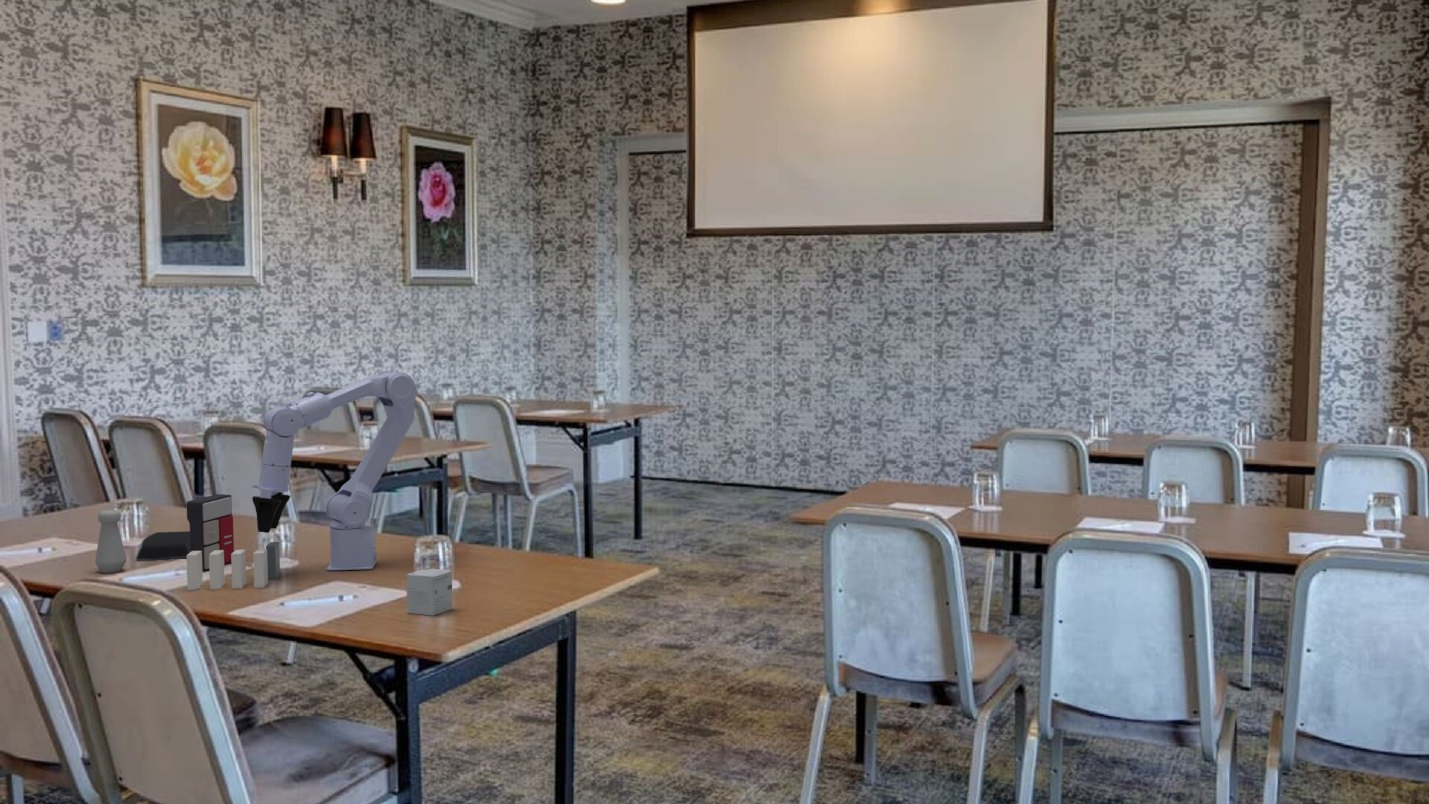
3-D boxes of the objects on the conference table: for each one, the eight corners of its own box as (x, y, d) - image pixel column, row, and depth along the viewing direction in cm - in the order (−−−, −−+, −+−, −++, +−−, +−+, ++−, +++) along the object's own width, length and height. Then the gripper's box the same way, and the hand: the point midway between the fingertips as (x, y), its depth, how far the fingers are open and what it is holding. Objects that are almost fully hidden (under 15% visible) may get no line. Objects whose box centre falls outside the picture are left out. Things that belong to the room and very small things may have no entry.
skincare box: (433, 616, 220) (433, 576, 220) (406, 613, 222) (405, 573, 222) (453, 609, 226) (452, 570, 225) (426, 605, 228) (425, 567, 228)
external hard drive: (131, 564, 267) (130, 545, 267) (151, 547, 286) (150, 530, 286) (194, 561, 270) (193, 543, 270) (210, 545, 289) (209, 528, 288)
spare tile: (280, 574, 254) (279, 541, 254) (276, 579, 250) (275, 545, 249) (271, 575, 254) (270, 542, 253) (266, 579, 250) (266, 546, 249)
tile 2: (267, 582, 247) (267, 548, 246) (263, 587, 242) (262, 553, 242) (258, 583, 246) (257, 549, 246) (254, 588, 242) (253, 553, 242)
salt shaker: (132, 570, 258) (130, 509, 257) (109, 575, 253) (107, 513, 252) (113, 567, 261) (111, 507, 260) (89, 572, 256) (87, 511, 255)
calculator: (206, 572, 256) (204, 502, 255) (188, 571, 257) (186, 501, 256) (236, 561, 267) (234, 494, 266) (219, 560, 268) (217, 493, 267)
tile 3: (246, 583, 246) (245, 549, 246) (241, 588, 242) (240, 553, 241) (237, 583, 246) (236, 549, 245) (232, 588, 241) (231, 554, 241)
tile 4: (224, 584, 245) (223, 550, 245) (219, 589, 241) (218, 554, 241) (215, 584, 245) (214, 550, 245) (209, 589, 241) (209, 554, 240)
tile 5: (202, 584, 245) (201, 550, 244) (197, 589, 240) (196, 555, 240) (193, 585, 244) (192, 551, 244) (187, 590, 240) (186, 555, 240)
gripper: (263, 461, 258) (254, 524, 258) (248, 464, 244) (239, 531, 244) (297, 465, 259) (289, 528, 259) (284, 468, 245) (275, 535, 245)
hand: (267, 530), depth 251 cm, fingers open, 7 cm apart
